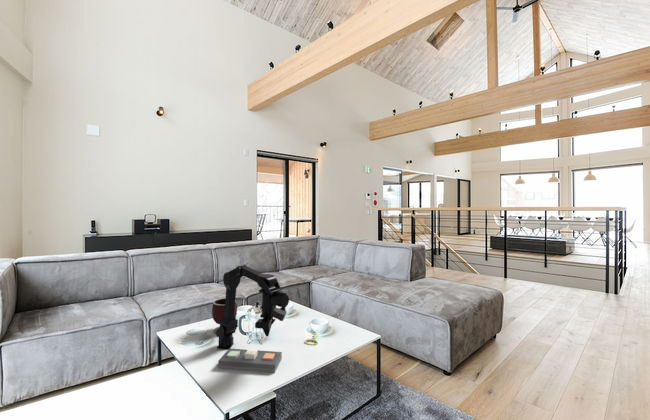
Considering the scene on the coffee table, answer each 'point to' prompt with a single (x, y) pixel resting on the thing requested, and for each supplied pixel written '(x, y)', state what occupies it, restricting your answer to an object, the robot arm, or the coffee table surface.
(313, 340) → the key
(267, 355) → the terracotta keycap
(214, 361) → the coffee table surface
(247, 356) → the ivory keycap
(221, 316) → the mate gourd
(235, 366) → the grey flat rectangular block
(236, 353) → the sage keycap
